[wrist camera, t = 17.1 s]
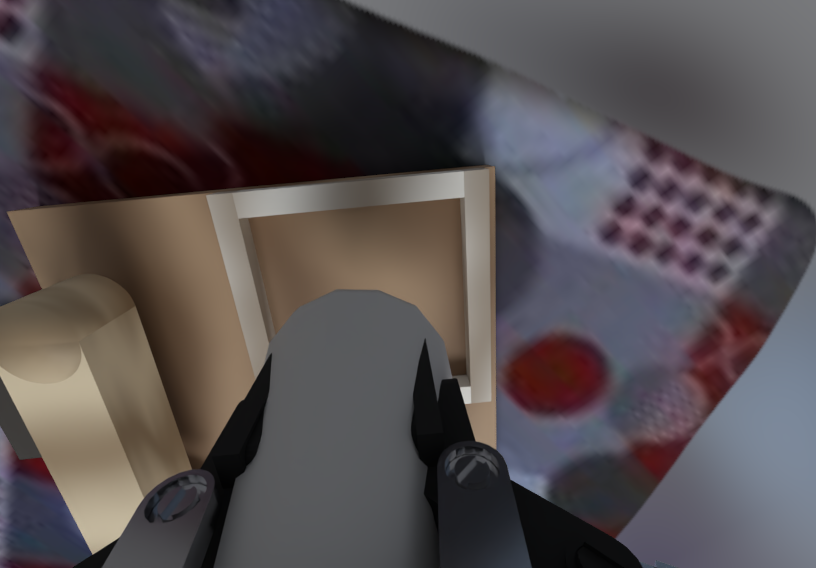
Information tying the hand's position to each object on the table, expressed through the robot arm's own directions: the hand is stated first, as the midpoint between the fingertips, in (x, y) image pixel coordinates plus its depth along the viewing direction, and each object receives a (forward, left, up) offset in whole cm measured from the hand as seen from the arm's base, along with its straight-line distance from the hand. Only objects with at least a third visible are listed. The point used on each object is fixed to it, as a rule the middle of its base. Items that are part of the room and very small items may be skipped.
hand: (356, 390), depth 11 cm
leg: (-11, -3, -5) cm, 12 cm away
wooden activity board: (-4, -4, -8) cm, 10 cm away
